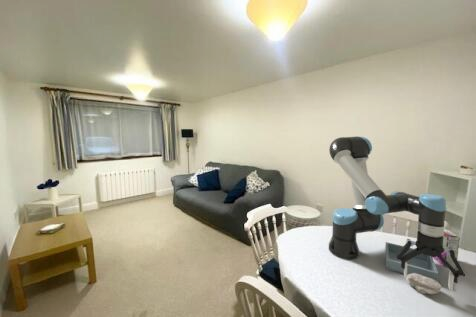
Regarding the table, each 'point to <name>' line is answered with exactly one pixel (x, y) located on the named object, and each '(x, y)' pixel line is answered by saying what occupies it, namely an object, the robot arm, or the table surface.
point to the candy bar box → (449, 242)
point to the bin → (410, 262)
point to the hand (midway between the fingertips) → (426, 281)
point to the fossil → (423, 283)
